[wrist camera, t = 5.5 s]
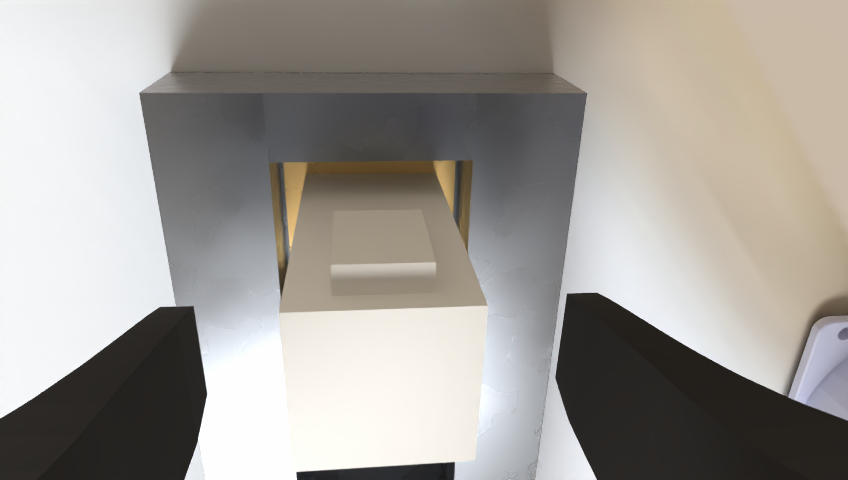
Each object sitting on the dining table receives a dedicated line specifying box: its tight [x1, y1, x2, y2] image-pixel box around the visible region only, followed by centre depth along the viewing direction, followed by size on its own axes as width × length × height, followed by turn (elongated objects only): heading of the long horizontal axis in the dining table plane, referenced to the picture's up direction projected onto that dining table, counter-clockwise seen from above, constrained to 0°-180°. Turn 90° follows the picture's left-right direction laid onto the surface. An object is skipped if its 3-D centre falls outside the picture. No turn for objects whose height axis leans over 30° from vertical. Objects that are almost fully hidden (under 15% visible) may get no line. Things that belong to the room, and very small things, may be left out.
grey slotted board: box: [139, 72, 587, 480], centre depth 20 cm, size 10×24×2 cm, turn 179°
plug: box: [279, 173, 488, 472], centre depth 14 cm, size 4×4×7 cm
